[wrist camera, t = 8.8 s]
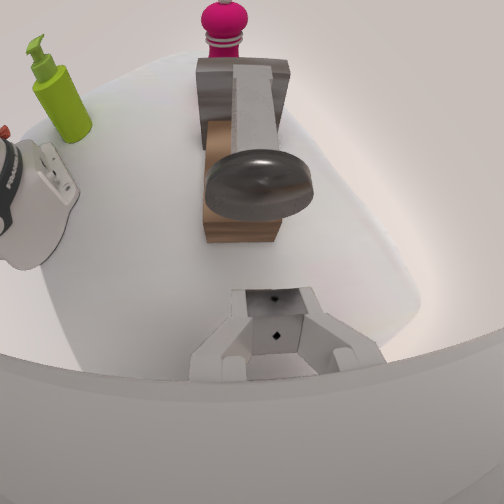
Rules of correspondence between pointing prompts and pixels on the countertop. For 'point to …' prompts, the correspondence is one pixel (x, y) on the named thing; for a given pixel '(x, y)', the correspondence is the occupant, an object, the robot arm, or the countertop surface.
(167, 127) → the countertop surface
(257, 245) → the countertop surface
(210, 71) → the stand
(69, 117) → the soap dispenser
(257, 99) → the plunger
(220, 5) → the pepper mill
